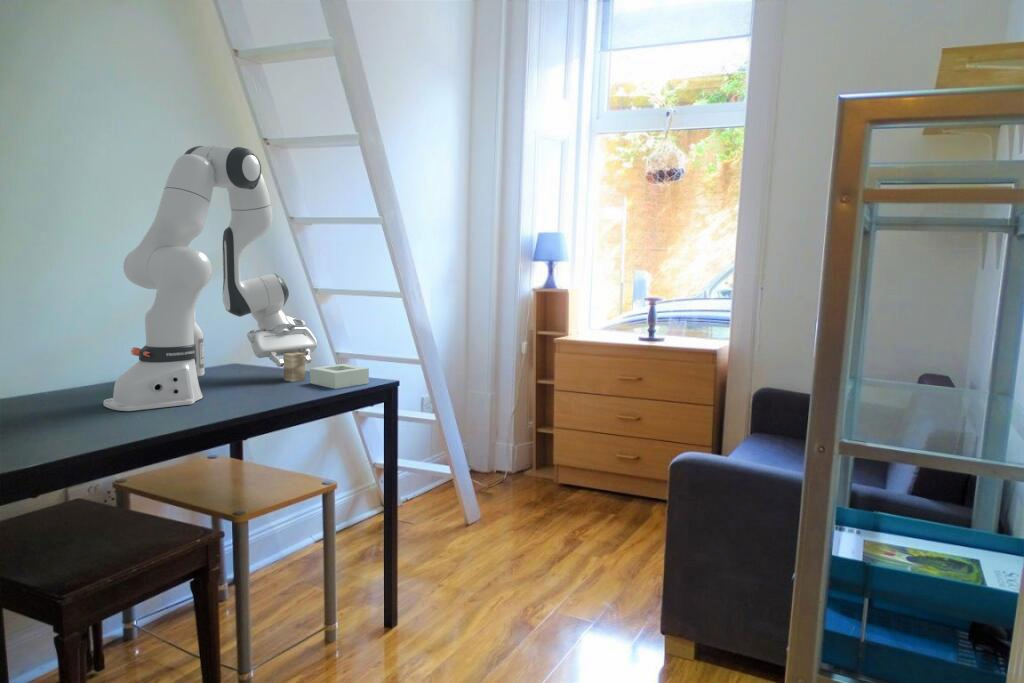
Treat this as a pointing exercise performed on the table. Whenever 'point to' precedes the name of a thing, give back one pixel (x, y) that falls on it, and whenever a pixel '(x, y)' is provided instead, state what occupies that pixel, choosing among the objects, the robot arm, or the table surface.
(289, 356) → the birch peg
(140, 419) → the table surface
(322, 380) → the socket block
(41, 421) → the table surface
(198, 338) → the bath foam
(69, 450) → the table surface
